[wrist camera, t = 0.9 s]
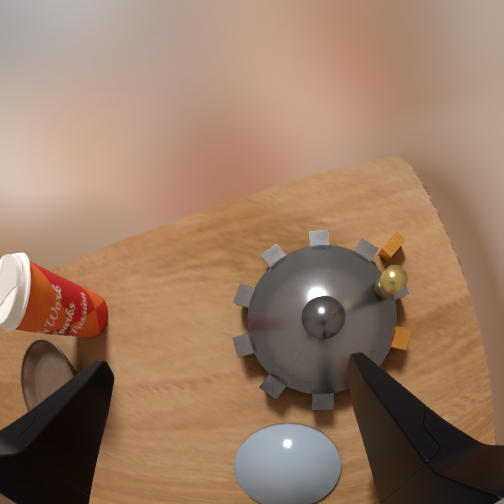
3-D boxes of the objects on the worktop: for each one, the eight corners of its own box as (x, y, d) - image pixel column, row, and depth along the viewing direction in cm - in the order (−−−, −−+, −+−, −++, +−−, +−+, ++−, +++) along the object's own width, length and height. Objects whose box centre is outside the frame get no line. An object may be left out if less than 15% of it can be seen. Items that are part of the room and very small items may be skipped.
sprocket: (436, 316, 22) (461, 307, 17) (314, 438, 21) (313, 459, 16) (321, 207, 28) (321, 178, 23) (204, 315, 27) (179, 306, 22)
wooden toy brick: (424, 268, 24) (430, 263, 23) (319, 381, 23) (319, 383, 22) (368, 216, 27) (370, 208, 26) (261, 319, 26) (258, 317, 25)
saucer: (49, 443, 26) (37, 445, 23) (25, 354, 32) (12, 353, 29) (108, 435, 25) (94, 439, 23) (75, 327, 31) (61, 323, 28)
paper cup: (94, 358, 29) (-1, 346, 16) (66, 318, 31) (-18, 294, 19) (125, 310, 30) (28, 278, 17) (93, 273, 33) (10, 233, 20)
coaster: (360, 467, 19) (362, 470, 18) (280, 518, 18) (279, 522, 18) (294, 402, 23) (293, 404, 22) (216, 458, 22) (213, 460, 22)
